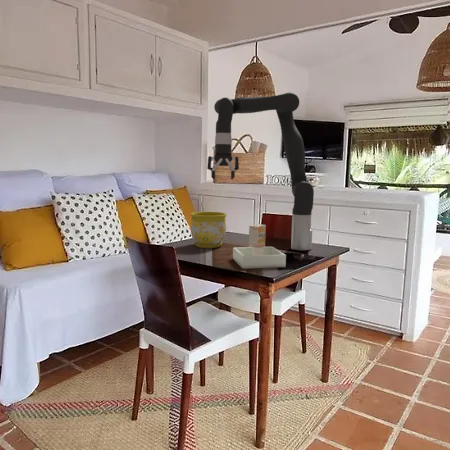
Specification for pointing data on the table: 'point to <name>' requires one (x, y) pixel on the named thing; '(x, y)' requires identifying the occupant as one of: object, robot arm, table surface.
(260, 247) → the dressing jar
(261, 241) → the supplement box
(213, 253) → the table surface
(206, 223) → the flowerpot
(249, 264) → the bin
